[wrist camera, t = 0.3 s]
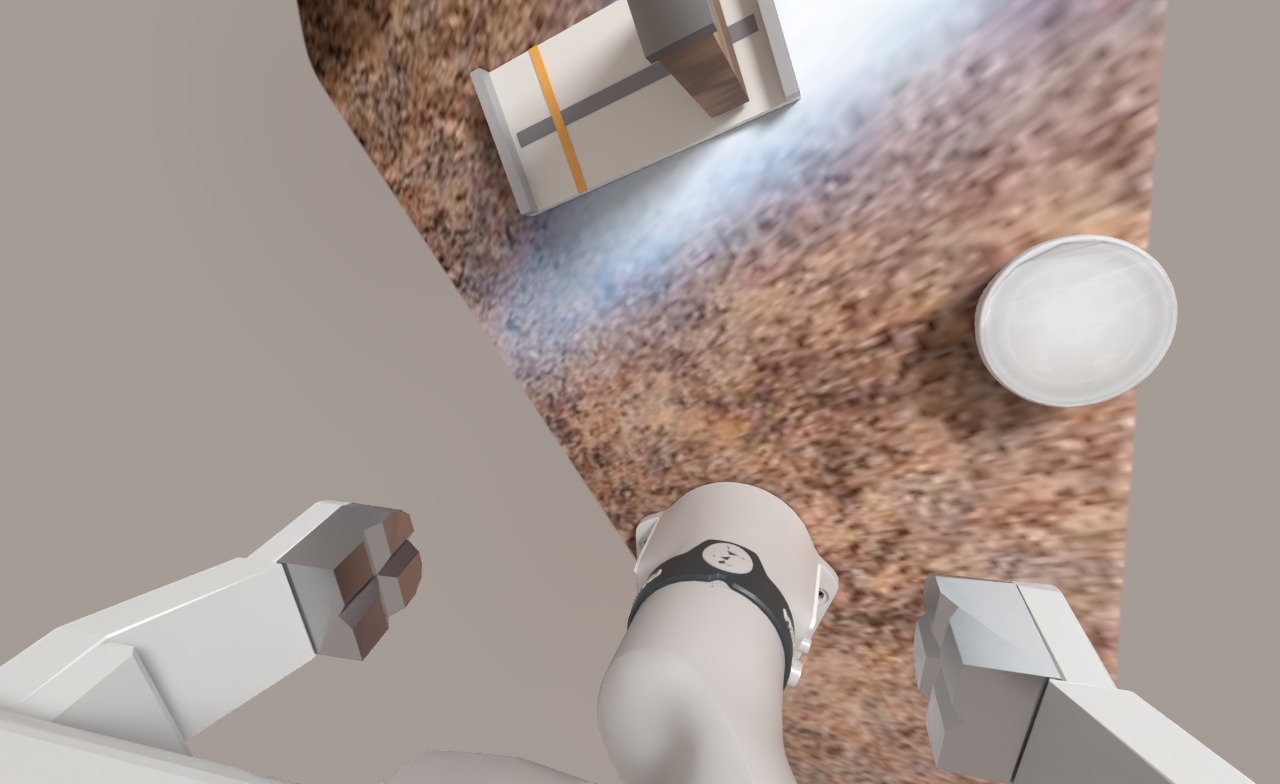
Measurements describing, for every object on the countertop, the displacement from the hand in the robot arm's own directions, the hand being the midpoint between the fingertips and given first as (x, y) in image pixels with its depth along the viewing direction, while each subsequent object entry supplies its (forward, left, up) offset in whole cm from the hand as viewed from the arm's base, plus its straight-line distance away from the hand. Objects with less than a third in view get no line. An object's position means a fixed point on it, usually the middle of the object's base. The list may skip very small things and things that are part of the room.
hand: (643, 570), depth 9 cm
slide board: (+15, +16, -42) cm, 47 cm away
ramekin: (+3, -18, -42) cm, 46 cm away
